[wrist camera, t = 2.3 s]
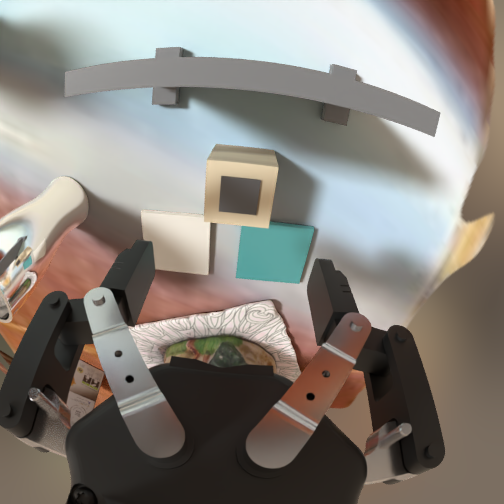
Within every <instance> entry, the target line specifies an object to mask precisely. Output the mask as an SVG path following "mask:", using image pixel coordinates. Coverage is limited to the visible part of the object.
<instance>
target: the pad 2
mask: <svg viewBox="0 0 504 504" xmlns="http://www.w3.org/2000/svg"><path fill="white" fill-rule="evenodd" d="M313 233H314V227H313V226H305V225H297V224H289V223H280V222H271V221H270V222H269V228H259V227H250V226H241V235H240V244H239V253H238V262H237V271H236V278H241V279H252V280H262V281H274V282H285V283H297V284H299V282H300V279H301V275H302V272H303V268H304V265H305V262H306V258H307V255H308V251H309V247H310V244H311V240H312V237H313Z"/></svg>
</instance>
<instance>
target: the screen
mask: <svg viewBox="0 0 504 504" xmlns="http://www.w3.org/2000/svg"><path fill="white" fill-rule="evenodd" d="M182 55H183V48H181V47H170V48H156V56H155V58H151V59H139V60H130V61H121V62H114V63H107V64H101V65H95V66H90V67H85V68H80V69H76V70H71V71H67V72H65V97H69V96H75V95H81V94H87V93H94V92H102V91H110V90H120V89H132V88H148V87H153V96H152V105H161V104H178V100H179V87H210V88H227V89H239V90H250V91H259V92H267V93H274V94H281V95H287V96H293V97H299V98H304V99H310V100H315V101H319V102H324V105H323V111H322V116H321V119H322V120H324V121H329V122H333V123H338V124H342V125H346V126H347V121H348V116H349V111H350V109H353V110H357V111H360V112H364V113H367V114H371V115H374V116H377V117H381V118H384V119H387V120H390V121H393V122H396V123H399V124H402V125H405V126H407V127H410V128H413V129H415V130H418V131H421V132H423V133H426V134H428V135H431V136H433V137H435V133H436V129H437V125H438V121H439V117H440V112H438V111H436V110H434V109H431V108H429V107H427V106H425V105H422V104H420V103H418V102H415V101H413V100H411V99H408V98H406V97H403V96H400V95H398V94H395V93H392V92H390V91H387V90H384V89H381V88H378V87H375V86H372V85H369V84H366V83H363V82H359V81H356V80H355V79H356V73H357V70H353V69H350V68H346V67H343V66H339V65H335V64H332V65H330V71H329V73H325V72H321V71H317V70H312V69H307V68H302V67H296V66H291V65H285V64H278V63H271V62H264V61H255V60H245V59H233V58H215V57H182Z"/></svg>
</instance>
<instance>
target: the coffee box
mask: <svg viewBox="0 0 504 504" xmlns="http://www.w3.org/2000/svg"><path fill="white" fill-rule="evenodd" d="M104 374H105V373H104V372H103V371H101V370H99V369H97V368H95V367H93V366H91V365H89V364H87V363H85V362H83V361H82V360H79V362H78V365H77V368H76V371H75V374H74V377H73V380H72V383H71V386H70V390H69V393H68V396H67V400H66V405H67V406H68V408H69V410H70V413H71V418H70V424H71V426H72V425H73V424H74V423H75V422H76V421H78V420H79V419H80V418H82V417H83V416H85V415H86V414H87V413H89V412H90V411H92V410H93V408H94V405H95V402H96V399H97V395H98V392H99V389H100V386H101V383H102V380H103V377H104Z"/></svg>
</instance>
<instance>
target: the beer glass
mask: <svg viewBox="0 0 504 504" xmlns="http://www.w3.org/2000/svg"><path fill="white" fill-rule="evenodd" d="M88 211H89V204H88V199H87V196H86V193H85V191H84V190H83V188H82V187H81V185H80V184H79V183H78V182H76V181H75V180H74V179H72V178H70V177H66V176H61V177H58V178H56V179H54V180H53V181H52V182H51V183H50V184H49V185H48V186H47V188H46V189H45V190H44V191H43V192H42V193H41V194H40V195H39V196H38V197H36V198H35V199H33V200H31V201H29V202H27V203H25V204H23V205H21V206H20V207H18V208H16V209H14V210H12V211H10V212H9V213H7V214H5V215H4V216H2V217H1V218H0V322H3V323H9V322H11V320H12V318H13V317H14V316H15V314H16V313H17V312H18V310H19V309H20V308H21V307H22V305H23V304H24V303H25V302H26V300H27V299H28V298H29V296H30V295H31V294H32V292H33V291H34V290H35V288H36V287H37V285H38V284H39V282H40V281H41V279H42V278H43V276H44V274H45V272H46V270H47V269H48V267H49V265H50V263H51V261H52V259H53V257H54V255H55V253H56V251H57V249H58V247H59V246H60V244H61V242H62V240H63V239H64V237H65V236H66V235H67V234H68V233H69V232H70V231H71V230H73V229H74V228H76V227H77V226H79V225H80V224H81V223H83V222H84V220H85V219H86V217H87V215H88Z"/></svg>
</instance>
